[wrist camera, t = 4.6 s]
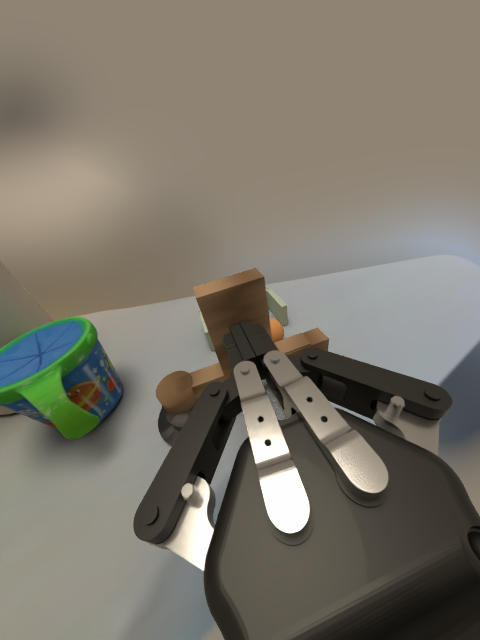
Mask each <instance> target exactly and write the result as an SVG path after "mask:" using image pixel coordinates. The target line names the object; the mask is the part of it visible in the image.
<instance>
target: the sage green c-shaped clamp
mask: <svg viewBox="0 0 480 640" xmlns="http://www.w3.org/2000/svg"><path fill="white" fill-rule="evenodd" d="M266 296H267V304H268V309H270V310H271V311H272V313H273V314H274V315H275V316H276V318H277V319H278V320H279V321H280V323H281V324H282V325H283V326H285V325H287V324H288V317H287V305H286V304H285V303H284V302H283V301H282V300H281V299H280V298H279V297H278V295H277V294H276V293H275V292H274V291H273V290H272V289H271V288H267V289H266ZM199 313H200V317H201V320H202V324H203V328H204V331H205V334H206V337H207V340H208V342H209V345H210V348H211V350H212V351H214V350H215V349H214V346H213V343H212V341H211V338H210V335H209V332H208V330H207V327H206V324H205V321H204V319H203V316H202V313H201V310H199Z"/></svg>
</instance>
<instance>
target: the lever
mask: <svg viewBox="0 0 480 640" xmlns="http://www.w3.org/2000/svg"><path fill="white" fill-rule="evenodd" d="M193 289H194V293H195V296H196V299H197V302H198V305H199V308H200V310H201V313H202V316H203V319H204V321H205V324H206V327H207V330H208V332H209V335H210V338H211V341H212V343H213V346H214V349H215V352H216V354H217V357H218V360H219V363H217V364H214V365H211V366H208V367H206V368H203V369H200V370H197V371H195V372H192V373H188V372H185V371H176V372H173V373H171V374H169V375H167V376H166V377H165V378H163V379H162V380H161V382H160V383H159V385H158V386H157V389H156V397H157V399H158V400H159V401H160V403H161V404H162V405H163V407H164V408H165V410H166V411H167V412H168V413H170V414H173V415H179V414H183V413H185V412H187V411H189V410H190V409H191V408H192V407H193V406H194V405H195V404H196V402H197V400H198V399H199V397H200V395H201V394H202V392H203V390H204V388H205V387H206V386H207V385H208V384H210V383H211V382H215V381H219V382H224V381H225V380H227V379H228V378H229V377H230V375H231V374H232V370H233V369H232V366H231V363H230V361H229V358H228V355H227V352H226V349H225V346H224V342H223V338H224V335H225V334H228V333H230V329H229V325H232V324H235V323H239V322H241V321H244V320H247V319H249V320H250V322H251V323H252V325H254V324H257V323H258V324H260V325H262V326H263V327H264V328H265V330H266V332H267V333H268V334H269V336H270V338H271V339H272V335H271V327H270V319H269V311H268V304H267V296H266V288H265V280H264V276H263V275H262V274H261V273H260V272H259V271H258V270H257V269H256V268H254V269H251V270H248V271H244V272H241V273H238V274H235V275H232V276H228V277H225V278H222V279H219V280H215V281H212V282H209V283H206V284H203V285H199V286H196V287H194V288H193ZM328 343H329V339H328V338H327V337H326V336H325V335H324V334H323V333H322V332H321V331H320V330H319V329H318V328H316V329H313V330H310V331H307V332H304V333H300V334H297V335H294V336H292V337H289V338H286V339H283V340H280V341H278V342H275V343H274V344H275V345H276V347H277V348H278V350H279V351H281V352H283V353H284V354H286V355H300V354H301V352H302V350H304V349H305V348H309V347H314V348H318V349H321V350H325V351H328Z"/></svg>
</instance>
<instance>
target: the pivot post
mask: <svg viewBox="0 0 480 640" xmlns="http://www.w3.org/2000/svg"><path fill="white" fill-rule="evenodd" d="M197 401H198V400H197ZM196 403H197V402H196ZM194 406H195V405H194ZM194 406H193V407H192V408H191V409H190V410H189V411H187V412H185V413H183V414H179V415H173V414H170V413H168V412H167V411H166V410H165V408H164V407H163V405H162V409H161V412H160V415H159V419H158V428H159V432H160V434H161V436H162V437H163V439H164V440H165V441H166V442H167V443H168V444H170V445H171V446H173V444H174V442H175V440H176V439H177V437H178V435H179V433H180V431H181V430H182V428H183V426H184V424H185V422H186V421H187V419H188V417H189V415H190V413H191V412H192V410H193V408H194Z"/></svg>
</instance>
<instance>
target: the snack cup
mask: <svg viewBox="0 0 480 640" xmlns="http://www.w3.org/2000/svg"><path fill="white" fill-rule="evenodd" d="M122 392H123V391H122V383H121V381H120V379H119V376H118V375H117V373H116V371H115V369H114V367H113V365H112V364H111V362H110V360H109V358H108V356H107V354H106V353H105V351H104V349H103V347H102V345H101V344H100V342H99V341H98V339H97V330H96V329H95V327H94V326H93V324H92V323H91V322H90V321H89V320H87V319H86V318H83V317H69V318H64V319H60V320H56V321H53V322H50V323H47V324H45V325H42V326H40V327H38V328H35V329H33V330H31V331H29V332H27V333H25V334H23V335H21V336H20V337H18V338H16V339H14V340H13V341H11V342H10V343H8V344H6V345H5V346H3V347H2V348H0V406H3V407H6V408H8V409H10V410H12V411H14V412H17V413H20V414H22V415H25V416H28V417H30V418H32V419H34V420H37V421H40V422H42V423H44V424H47V425H49V426H52V427H54V428H57V429H58V430H59V431H60V433H61V434H62V435H63V437H65V438H66V439H69V440H75V439H78V438H80V437H82V436H84V435H86V434H87V433H89V432H90V431H91V430H93V429H94V428H95V427H96V426H97V425H98V424H99V423H100V422H101V421H102V420H103V419H104V417H105V416H107V414H108V413H109V412H110V411H111V410H112V409H113V408H114V407H115V405H116V404H117V402H118V400H119V398H120V397H121V396H122Z"/></svg>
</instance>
